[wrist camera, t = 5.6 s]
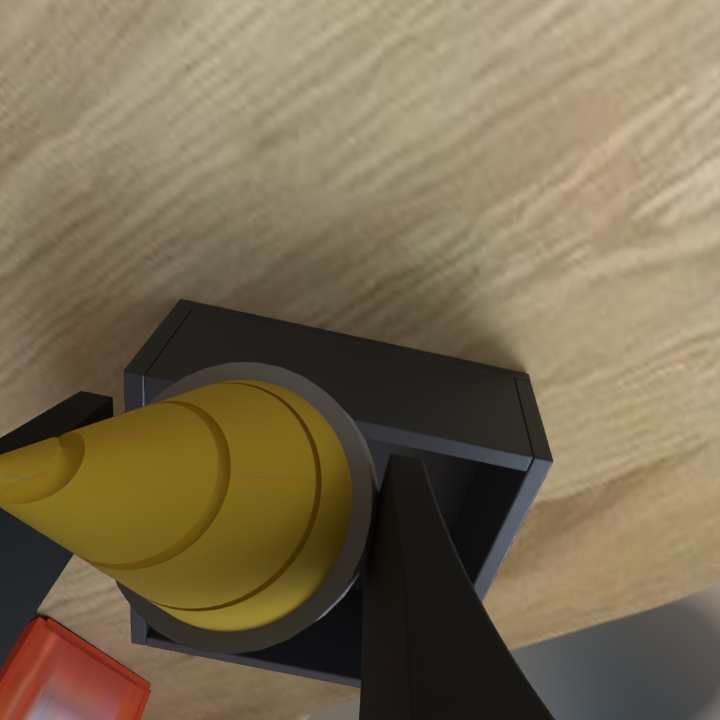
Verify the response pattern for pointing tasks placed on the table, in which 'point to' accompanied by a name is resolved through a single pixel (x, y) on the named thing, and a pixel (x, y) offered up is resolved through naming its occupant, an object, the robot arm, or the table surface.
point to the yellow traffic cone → (211, 504)
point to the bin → (372, 448)
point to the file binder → (66, 679)
